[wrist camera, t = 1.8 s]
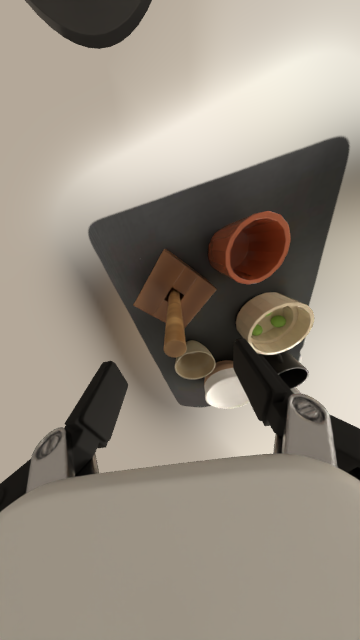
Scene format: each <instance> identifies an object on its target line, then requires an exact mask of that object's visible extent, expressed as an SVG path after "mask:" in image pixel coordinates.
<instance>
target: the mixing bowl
mask: <svg viewBox="0 0 360 640" xmlns="http://www.w3.org/2000/svg"><path fill="white" fill-rule="evenodd" d="M271 312H272V313H271ZM269 313H271V314H270V315H269V316H266V315H267V314H269ZM277 315H280V316H283V317H284V318H285V319H286V324H285V325H284V326H283V327H274V326H273V325H272V324H271V319H272V318H273V317H274V316H277ZM265 316H266V317H265ZM313 322H314V314H313V311H312V310H311V309H310V308H309V307H308V306H307V305H306V304H303V303H301V302H299V301H297V300H294V299H292V298H290V297H287V296H285V295H283V294H280V293H276V292H271V293H264V294H261V295H258V296H256V297H254V298H253V299H251V300H250V301H248V302H247V303H246V304H245V305H244V306H243V307H242V308H241V310H240V312H239V314H238V316H237V320H236V327H237V330H238V332H239V333H240V335H241V336H242V337H243V338H245V339H246V340H247V341H248V343H249V344H250V345H251V346H252V348H253V349H254V350H255V352H256V353H259V354H264V355H273V354H278V353H281V352H284V351H286V350H289V349H291V348H292V347H294V346H295V345H297V344H298V343H300V342H301V341H302V340H303V339H304V338H305V337H306V336H307V335H308V333H309V332H310V330H311V328H312V326H313ZM257 324H258V325H260V326H261V327H262V329H263V331H262V333H261V334H260V335H258V336H254V335H252V332H253V329H254V328H255V326H256V325H257Z"/></svg>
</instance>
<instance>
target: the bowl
mask: <svg viewBox="0 0 360 640" xmlns="http://www.w3.org/2000/svg"><path fill="white" fill-rule="evenodd" d="M204 389H205V392H206V394H205V399H206V401H207V403H208V404H210V405H211V406H213V407H216V408H221V409H230V408H236V407H240V406H243V405H245V404H248V403H249V402H250V401H249V399H248V397H247V395H246V393H245V391H244V389H243V387H242V385H241V383H240V381H239V379H238V377H237V375H236V373H235V371H234V368H233V361H229V360H224V361H220V362H217V363H215V368H214V370H213V371H212V372H211V373H210V374H209V375H207V376H206V377H205V380H204Z"/></svg>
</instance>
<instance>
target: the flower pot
mask: <svg viewBox="0 0 360 640" xmlns="http://www.w3.org/2000/svg"><path fill="white" fill-rule="evenodd" d="M186 348H187V349H186V352H185V353H184V354H183V355H182V356H180V357H177V358H176V362H175V370H176V372H177V374H178V375H180V376H181V377H183V378H186V379H199V378H203V377H205V376H207V375H209V374H210V373H211V372H212V371H213V370H214V368H215V359H214V358H213V356H212V354H211V353H210V352H209V350H208V349H207V348H206V347H205V346H204V345H202V344H201V343H199V342H197V341H194V340H190V341H187V342H186Z"/></svg>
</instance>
